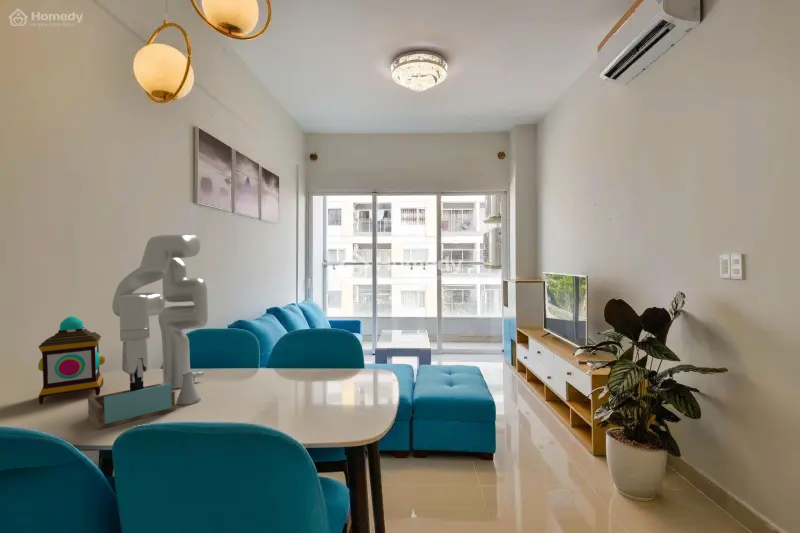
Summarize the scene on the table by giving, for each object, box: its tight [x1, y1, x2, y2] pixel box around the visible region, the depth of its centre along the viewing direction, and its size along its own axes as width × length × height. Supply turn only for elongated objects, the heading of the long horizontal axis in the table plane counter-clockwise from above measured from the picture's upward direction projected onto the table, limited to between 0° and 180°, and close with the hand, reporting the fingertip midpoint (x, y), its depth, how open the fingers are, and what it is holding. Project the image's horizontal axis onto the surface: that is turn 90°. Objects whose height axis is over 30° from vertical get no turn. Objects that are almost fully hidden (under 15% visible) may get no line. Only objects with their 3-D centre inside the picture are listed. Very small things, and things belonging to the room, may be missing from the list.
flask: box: [175, 371, 202, 406], centre depth 138 cm, size 7×7×10 cm
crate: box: [87, 383, 176, 430], centre depth 128 cm, size 20×16×6 cm
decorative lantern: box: [37, 315, 106, 406], centre depth 154 cm, size 20×20×30 cm
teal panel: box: [104, 384, 172, 424], centre depth 122 cm, size 17×1×8 cm, turn 136°
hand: (136, 394), depth 124 cm, fingers closed
